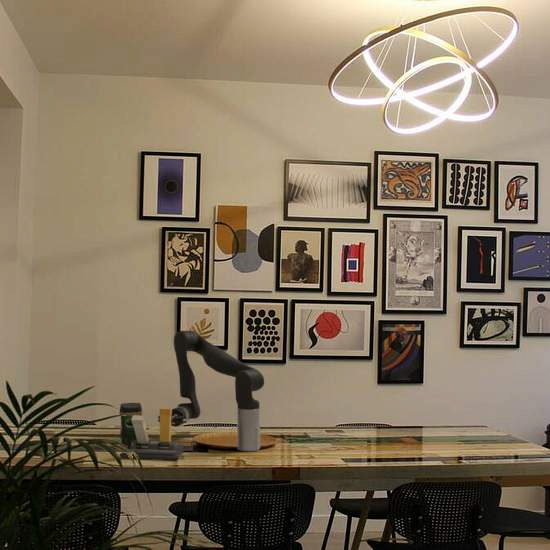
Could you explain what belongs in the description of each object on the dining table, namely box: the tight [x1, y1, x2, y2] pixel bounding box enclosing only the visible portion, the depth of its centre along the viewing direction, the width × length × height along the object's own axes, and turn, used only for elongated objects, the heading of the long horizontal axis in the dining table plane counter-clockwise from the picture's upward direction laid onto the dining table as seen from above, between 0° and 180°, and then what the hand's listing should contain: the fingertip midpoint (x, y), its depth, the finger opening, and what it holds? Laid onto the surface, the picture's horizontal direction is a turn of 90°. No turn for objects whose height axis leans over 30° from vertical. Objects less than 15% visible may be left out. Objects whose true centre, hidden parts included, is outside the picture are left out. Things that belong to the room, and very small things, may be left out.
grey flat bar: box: [119, 449, 180, 461], centre depth 306 cm, size 24×2×4 cm, turn 81°
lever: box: [131, 415, 151, 446], centre depth 311 cm, size 4×3×15 cm
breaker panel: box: [129, 440, 185, 457], centre depth 314 cm, size 20×12×5 cm, turn 81°
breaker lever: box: [158, 407, 173, 447], centre depth 314 cm, size 4×3×15 cm, turn 82°
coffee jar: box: [118, 402, 143, 447], centre depth 329 cm, size 10×8×19 cm
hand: (166, 422), depth 315 cm, fingers closed
